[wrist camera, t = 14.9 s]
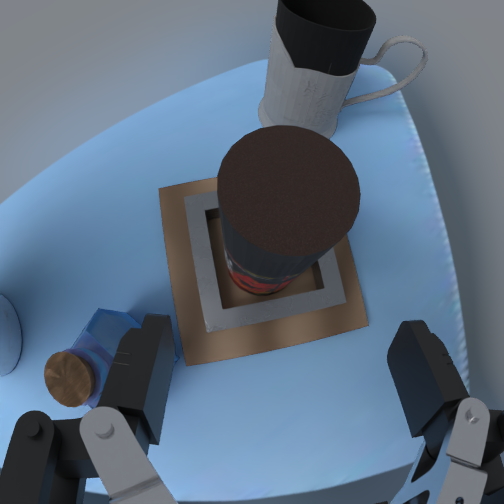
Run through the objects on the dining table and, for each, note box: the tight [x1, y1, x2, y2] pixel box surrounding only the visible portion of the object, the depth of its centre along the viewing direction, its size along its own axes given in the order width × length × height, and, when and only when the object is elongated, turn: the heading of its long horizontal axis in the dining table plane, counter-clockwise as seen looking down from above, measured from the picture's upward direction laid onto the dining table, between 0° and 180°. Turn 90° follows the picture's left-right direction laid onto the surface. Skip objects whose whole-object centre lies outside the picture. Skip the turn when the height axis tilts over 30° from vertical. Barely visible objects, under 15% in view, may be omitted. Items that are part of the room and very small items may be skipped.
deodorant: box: [217, 125, 361, 296], centre depth 20 cm, size 6×6×15 cm
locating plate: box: [159, 177, 369, 366], centre depth 27 cm, size 16×16×4 cm
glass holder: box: [258, 0, 428, 139], centre depth 25 cm, size 9×14×15 cm, turn 85°
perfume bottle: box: [44, 308, 179, 409], centre depth 20 cm, size 6×6×12 cm
